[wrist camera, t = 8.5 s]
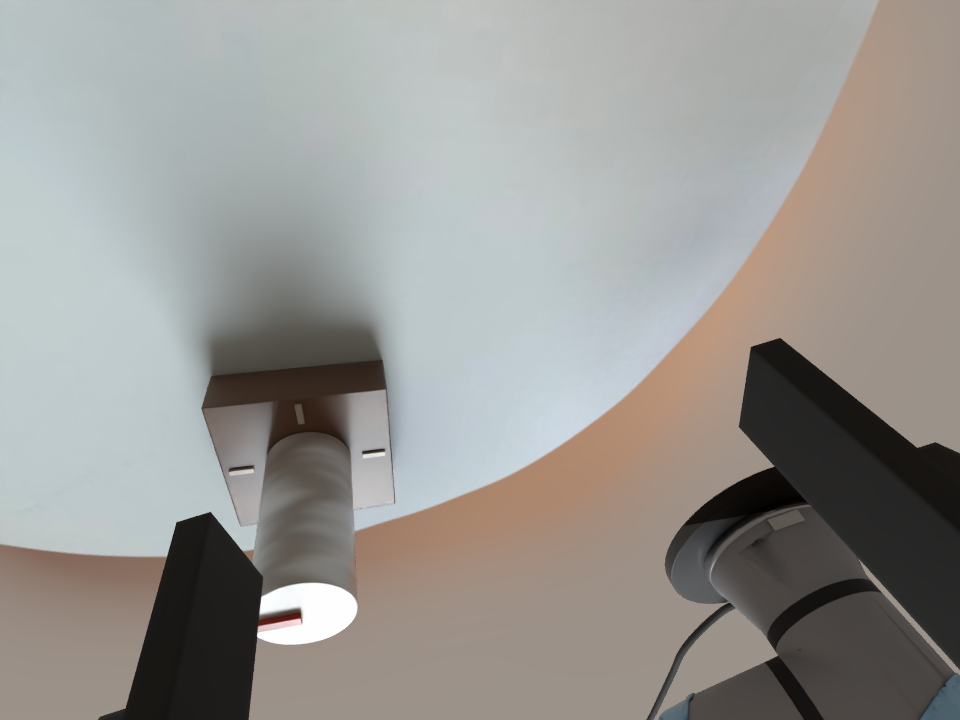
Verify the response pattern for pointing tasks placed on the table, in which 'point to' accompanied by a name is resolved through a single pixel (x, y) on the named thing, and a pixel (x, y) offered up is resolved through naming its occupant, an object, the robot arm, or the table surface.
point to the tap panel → (301, 426)
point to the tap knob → (306, 540)
